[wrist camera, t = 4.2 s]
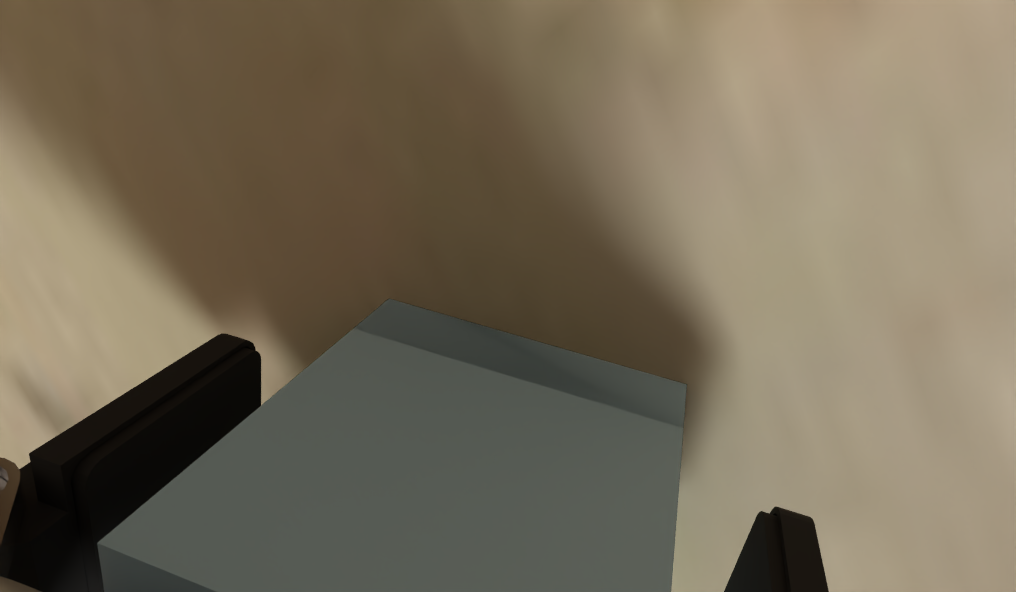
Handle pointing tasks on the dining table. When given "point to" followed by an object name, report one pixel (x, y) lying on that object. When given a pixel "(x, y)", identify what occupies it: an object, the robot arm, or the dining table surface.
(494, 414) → the light blue channel block
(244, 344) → the robot arm
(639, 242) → the dining table surface
